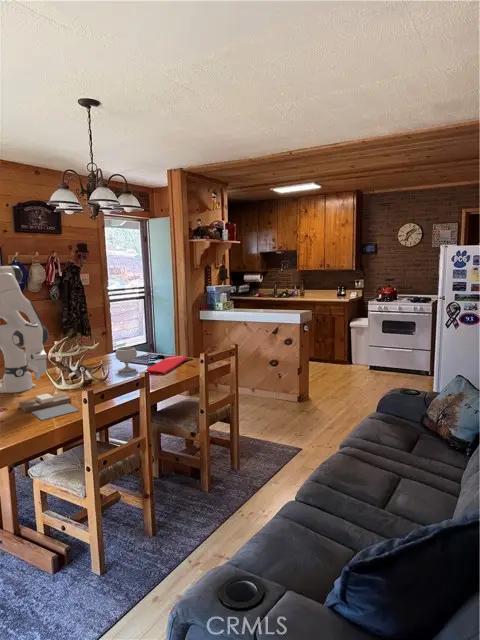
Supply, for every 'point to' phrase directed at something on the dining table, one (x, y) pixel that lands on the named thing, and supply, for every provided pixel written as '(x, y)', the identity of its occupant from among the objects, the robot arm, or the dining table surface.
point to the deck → (36, 405)
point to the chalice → (126, 357)
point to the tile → (44, 398)
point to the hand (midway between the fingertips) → (38, 379)
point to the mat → (54, 411)
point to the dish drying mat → (166, 365)
